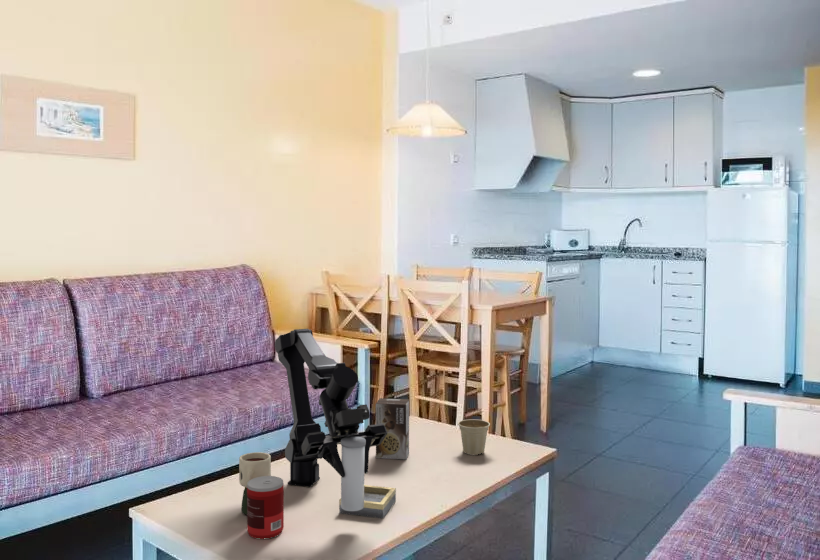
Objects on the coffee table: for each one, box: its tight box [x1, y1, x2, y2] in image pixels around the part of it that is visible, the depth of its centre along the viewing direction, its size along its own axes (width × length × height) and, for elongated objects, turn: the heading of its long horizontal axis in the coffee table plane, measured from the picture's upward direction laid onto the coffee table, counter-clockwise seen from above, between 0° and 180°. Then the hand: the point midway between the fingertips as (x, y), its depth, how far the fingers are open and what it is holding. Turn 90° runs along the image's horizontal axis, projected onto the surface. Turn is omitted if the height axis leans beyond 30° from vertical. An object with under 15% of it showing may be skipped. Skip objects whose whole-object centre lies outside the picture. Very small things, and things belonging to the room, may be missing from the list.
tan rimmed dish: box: [338, 484, 397, 519], centre depth 165 cm, size 10×10×3 cm
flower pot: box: [457, 418, 491, 456], centre depth 207 cm, size 9×9×9 cm
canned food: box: [246, 475, 285, 540], centre depth 151 cm, size 8×8×11 cm
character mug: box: [238, 451, 272, 515], centre depth 161 cm, size 11×7×13 cm, turn 178°
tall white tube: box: [340, 436, 366, 511], centre depth 153 cm, size 5×5×15 cm
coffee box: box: [375, 397, 410, 460], centre depth 203 cm, size 9×6×16 cm
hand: (355, 474), depth 152 cm, fingers closed on tall white tube, 5 cm apart
